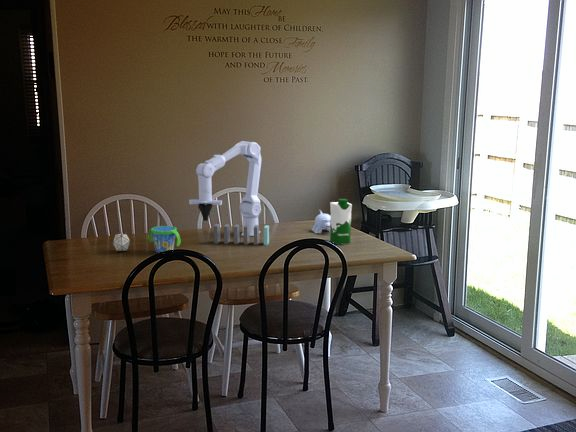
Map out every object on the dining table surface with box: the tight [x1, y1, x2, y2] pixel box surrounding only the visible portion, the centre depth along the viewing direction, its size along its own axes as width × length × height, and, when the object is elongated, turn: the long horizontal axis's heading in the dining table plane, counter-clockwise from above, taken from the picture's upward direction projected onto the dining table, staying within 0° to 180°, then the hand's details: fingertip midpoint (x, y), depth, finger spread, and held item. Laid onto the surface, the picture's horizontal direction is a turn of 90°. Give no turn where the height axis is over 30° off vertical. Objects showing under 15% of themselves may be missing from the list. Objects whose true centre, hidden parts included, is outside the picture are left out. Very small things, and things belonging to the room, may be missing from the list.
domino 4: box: [243, 225, 250, 245], centre depth 280 cm, size 2×5×8 cm, turn 173°
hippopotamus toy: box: [311, 209, 331, 234], centre depth 304 cm, size 11×15×10 cm
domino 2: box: [223, 223, 231, 245], centre depth 281 cm, size 2×5×8 cm, turn 173°
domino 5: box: [253, 224, 260, 246], centre depth 279 cm, size 2×5×8 cm, turn 173°
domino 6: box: [263, 224, 270, 246], centre depth 278 cm, size 2×5×8 cm, turn 173°
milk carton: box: [329, 198, 353, 245], centre depth 281 cm, size 9×9×20 cm
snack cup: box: [147, 225, 182, 254], centre depth 264 cm, size 16×10×10 cm
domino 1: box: [213, 223, 221, 245], centre depth 281 cm, size 2×5×8 cm, turn 173°
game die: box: [110, 232, 133, 253], centre depth 264 cm, size 9×8×10 cm
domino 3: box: [233, 223, 241, 245], centre depth 280 cm, size 2×5×8 cm, turn 173°
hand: (205, 220), depth 281 cm, fingers closed
